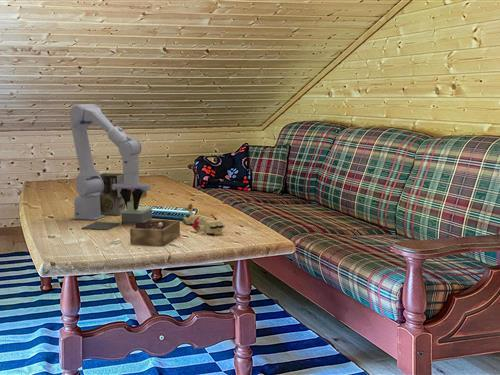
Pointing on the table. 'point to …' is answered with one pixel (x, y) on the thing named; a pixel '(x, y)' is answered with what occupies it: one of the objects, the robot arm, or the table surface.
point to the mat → (101, 226)
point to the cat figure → (203, 222)
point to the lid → (138, 211)
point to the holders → (154, 231)
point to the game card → (143, 225)
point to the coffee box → (111, 194)
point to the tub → (136, 217)
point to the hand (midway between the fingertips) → (132, 209)
